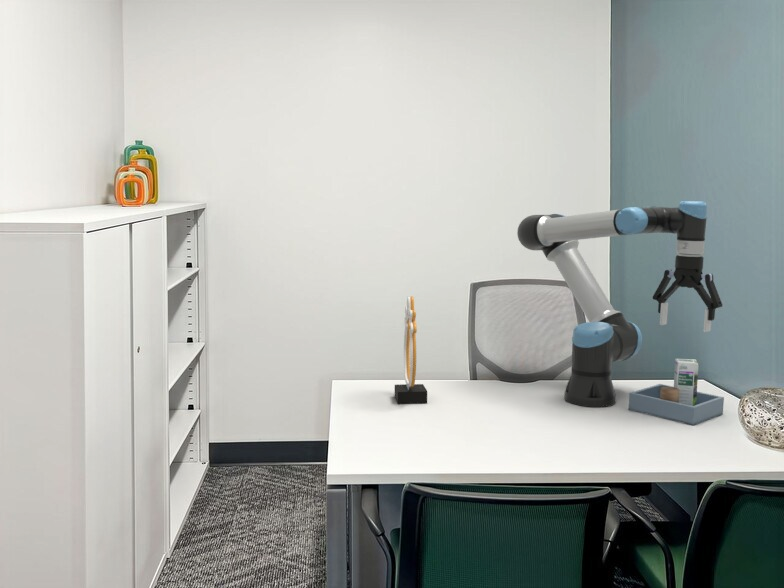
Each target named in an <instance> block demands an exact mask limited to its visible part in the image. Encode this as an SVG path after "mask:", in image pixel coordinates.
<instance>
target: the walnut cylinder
mask: <svg viewBox="0 0 784 588" xmlns="http://www.w3.org/2000/svg"><path fill="white" fill-rule="evenodd" d="M660 399H663V400H667V401H672V402H676V403H679V389H677V388H674V386H673V387H661V392H660Z"/></svg>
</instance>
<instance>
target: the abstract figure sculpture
mask: <svg viewBox="0 0 784 588" xmlns="http://www.w3.org/2000/svg"><path fill="white" fill-rule="evenodd" d="M406 297H407V298H406V299H407V300H406V306H405V308H404V309H405V310H404V313H405V315H404V316H405V317H404V335H403V368H404V370H403V371H404V373H403V374H404V381H405V384H394V399H395V402H396V403H397V405H419V404H420V405H421V404H424V405H425V404H428V390H427V388H426V387H425V384H423V383H422V384H421V383H417V384H416V376H417V375H416V374H417V338H416V334H417V330H418V328H417V322H416V319H417V318H416V317H417V311H416V310H415V300H414V296H406Z"/></svg>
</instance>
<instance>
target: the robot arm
mask: <svg viewBox="0 0 784 588" xmlns="http://www.w3.org/2000/svg"><path fill="white" fill-rule="evenodd" d="M707 205H708V204H707V203H706V202H705V201H697V200H696V201H693V200H689V201H688V200H682V201H680V202H679V204H678V207H668V206H667V207H666V206H665V207H664V206H643V207H637V206H630V207H625V208H622V209H613V210H604V211H597V212H590V213H582V214H573V215H564V214H559V213H553V214H551V213H550V214H531V215H528V216H526V217H525V218H523V219H522V220H521V221H520V223H519V224H518V227H517V232H516V233H517V235H516V236H517V239H518V241H519V243H520V245H521V246H523V247H524V248H526V249H527V250H530V251H542V253H543V255H544V256H545V258H546V260H547V261H549V262H553V263H554V264H555V266H556V268H557V269H558V271H559V272H560V274H561V276H562V278H563V279H564V281H565V282H566V285H567V286H568V288H569V290H570V291H571V293H572V295H573V296H574V298H575V300H576V302H577V303H578V305H579V307H580V308H581V310H582V312H583V313H584V315H585V317H586V319H587V320H588V322H584V323H579V324H577V325H576V326H575V327H574V328H573V333H572V338H571V341H572V343H571V344H572V345H571V346H572V347H571V348H572V352H571V373H570V376H569V379H568V382H567V384H566V386H565V387H566V388H565V390H564V400H565V401H566V402H567V403H569V404H573V405H578V406H581V407H593V408H598V407H599V408H600V407H602V408H603V407H604V408H605V407H610V406H613V405H615V404H616V397H617V394H616V392H615V388H614V384H613V380H612V363H617V362H620V361H627V360H629V359H631V358H633V357H635V356H636V355H637V354H638V353H639V352H640V350H641V348H642V344H643V335H642V332H641V330H640V328H639V327H638V325H637V324H635V323H633V322H631V321H628V320H627V319H626V317H625V316H624V314H623V313H622V311H620V310H615V308H614V307H613V305H612V304H611V303H610V301H609V299H608V298H607V296H606V294H605V293H604V291H603V289H602V287H601V286H600V284H599V282H598V281H597V279H596V278H595V276H594V274H593V273H592V271H591V269H590V268H589V266H588V264H587V262H586V261H585V259H584V257H583V256H582V254H581V252H580V251H579V249H578V247H579V244H580V242H579V240H580V241H581V240H588V239H596V238H608V237H619V236H628V235H629V236H631V235H641V234H655V233H656V234H658V233H660V234H676V245H675V246H676V247H675V248H676V250H675V253H676V254H677V255H676V256H675V260H674V263H675V264H674V267H675V270H673V269H665V270H664V272H663V278H662V279H661V281H660V283H659V285H658V287H657V288H656V290H655V292H654V294H653V296H652V300H653V301H657V302H658V305H657V306H658V309H657V313H659V315H660V316H659V326H664V325H667V324H668V311H669V302H667V300H668V299H669V298H670V297H671V296H672V295H673V294H674V293H675V292H676V291H677V290H678V289H679V288H688V289H694V290H695V291H696V293H697V295H698V296H699V297H700V298H701V300H702V301H703V303H704V305H705V306H706V307H707V308H705V309H704V316H703V318H704V320H703V333H709V332H711V329H712V321H714V320H715V316H716V314H715V313H716V309H718V308H722V307H723V303H722V299H721V297H720V295H719V291H718V290H717V287H716V285H715V282H714V275H713V273H707V274H706V273H705V274H704V273H703V269H704V259H705V258H704V257H703V256H702V255H704V254H705V240H706V230H707V229H706V228H707V226H706V225H707V220H708V215H707V214H708V213H707V212H708V210H707V209H708V207H707ZM672 278H675V280H674V281H673V282H672V283H671V285H670V286H669V287H668V288H667V286H668V285H669V283H670V281H671V280H672ZM702 280H703V281H704V282H705V283H704V284H705V286H706V289H707V291H706V289H705V287H704V284H703V283H702V282H701V281H702ZM666 288H667V289H666Z"/></svg>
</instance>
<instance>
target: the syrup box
mask: <svg viewBox="0 0 784 588" xmlns="http://www.w3.org/2000/svg"><path fill="white" fill-rule="evenodd" d="M674 359H675V360H674V372H673V373H674V375H673V376H674V377H673V387H674V388H677V389H679V403H681V404H685V405H689V406H695V405H696V398H697V392H698V381H699V379H698V378H699V377H698V376H699V362H698V360H697V359H696V358H695V359H692V358H691V359H688V358H674Z"/></svg>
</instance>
